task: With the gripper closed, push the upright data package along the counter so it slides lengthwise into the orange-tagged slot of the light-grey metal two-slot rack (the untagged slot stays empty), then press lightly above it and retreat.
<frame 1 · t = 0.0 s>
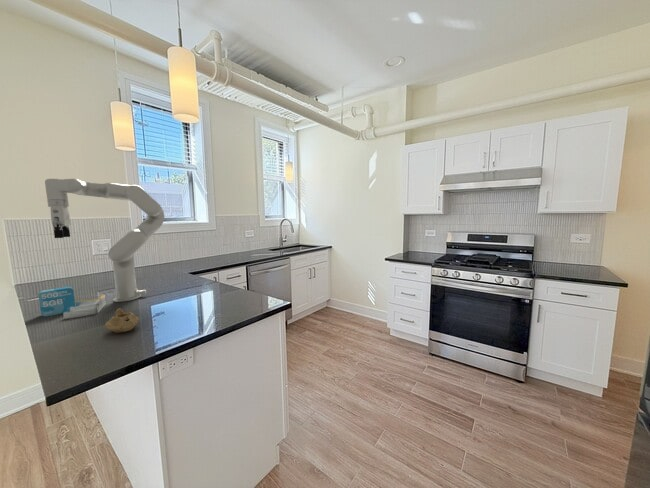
hand: (62, 237, 138), 37 cm above the countertop, tool pointing down, fingers open, 9 cm apart
data package: (59, 313, 133), on the countertop
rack: (86, 310, 134), on the countertop
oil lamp: (125, 331, 108), on the countertop
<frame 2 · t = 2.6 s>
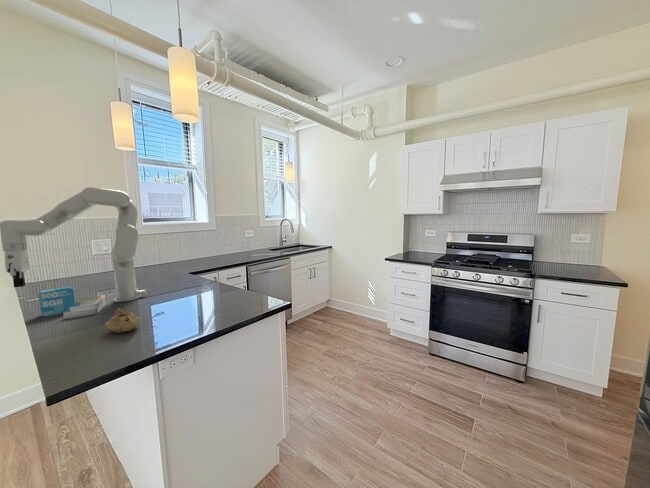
hand: (19, 286, 125), 15 cm above the countertop, tool pointing down, fingers closed
nothing on the countertop moved.
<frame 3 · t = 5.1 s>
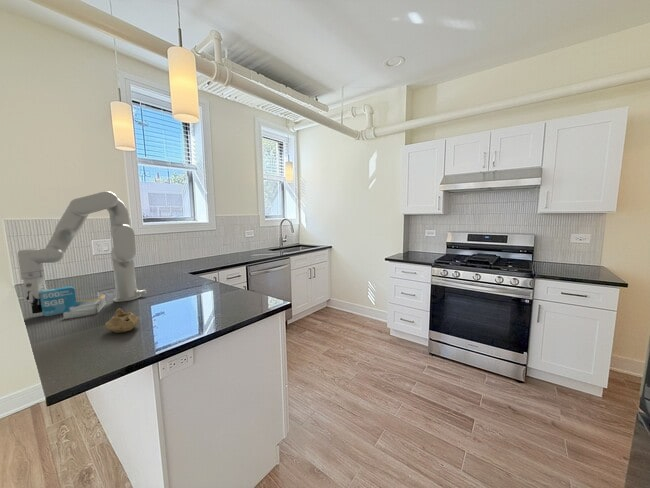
hand: (38, 312, 129), 2 cm above the countertop, tool pointing down, fingers closed
data package: (60, 312, 133), on the countertop, touching gripper
everything else where it was.
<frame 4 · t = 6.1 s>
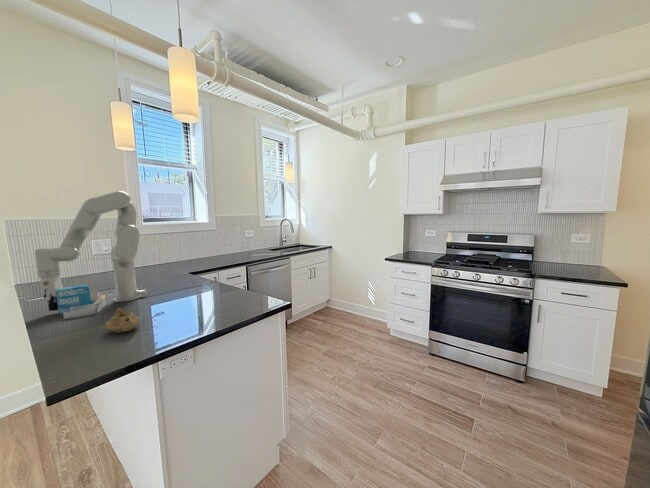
hand: (54, 310, 132), 2 cm above the countertop, tool pointing down, fingers closed
data package: (75, 310, 135), on the countertop, touching gripper
everything else where it was.
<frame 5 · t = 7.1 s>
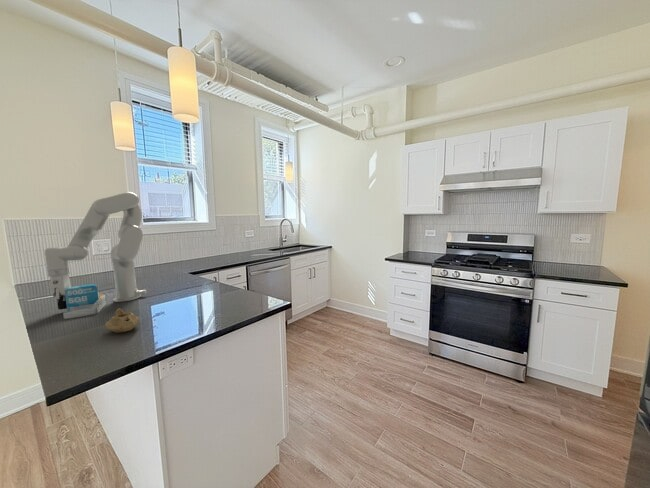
hand: (63, 308, 133), 2 cm above the countertop, tool pointing down, fingers closed
data package: (84, 309, 137), on the countertop, touching gripper
everything else where it was.
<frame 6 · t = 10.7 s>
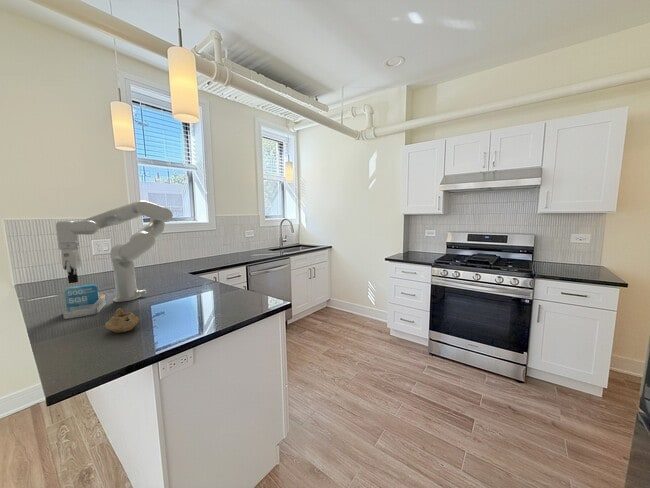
hand: (73, 282, 134), 14 cm above the countertop, tool pointing down, fingers closed
data package: (84, 309, 137), on the countertop
everything else where it was.
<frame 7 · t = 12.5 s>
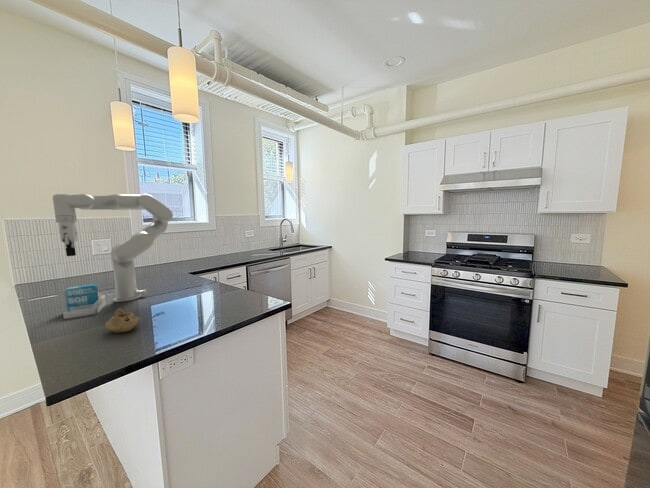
hand: (71, 255, 136), 28 cm above the countertop, tool pointing down, fingers closed
nothing on the countertop moved.
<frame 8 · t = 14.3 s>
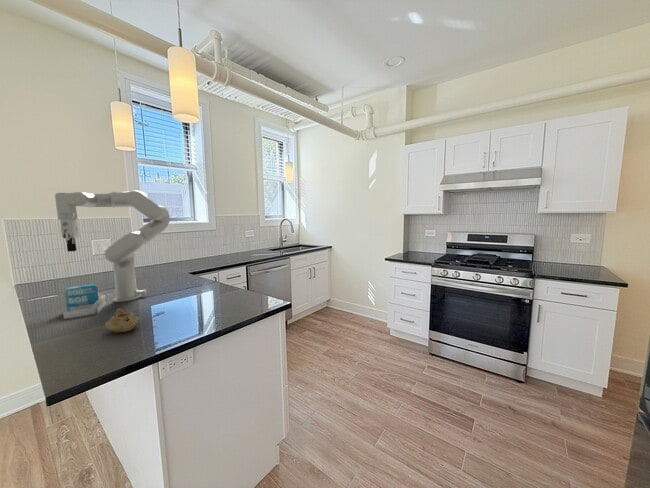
hand: (72, 251, 143), 29 cm above the countertop, tool pointing down, fingers closed
nothing on the countertop moved.
at the end: data package 1.1 cm from the target spot on the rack, point 0.0 cm above the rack's base; data package tilted 0°; data package moved 9.7 cm from its start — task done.
